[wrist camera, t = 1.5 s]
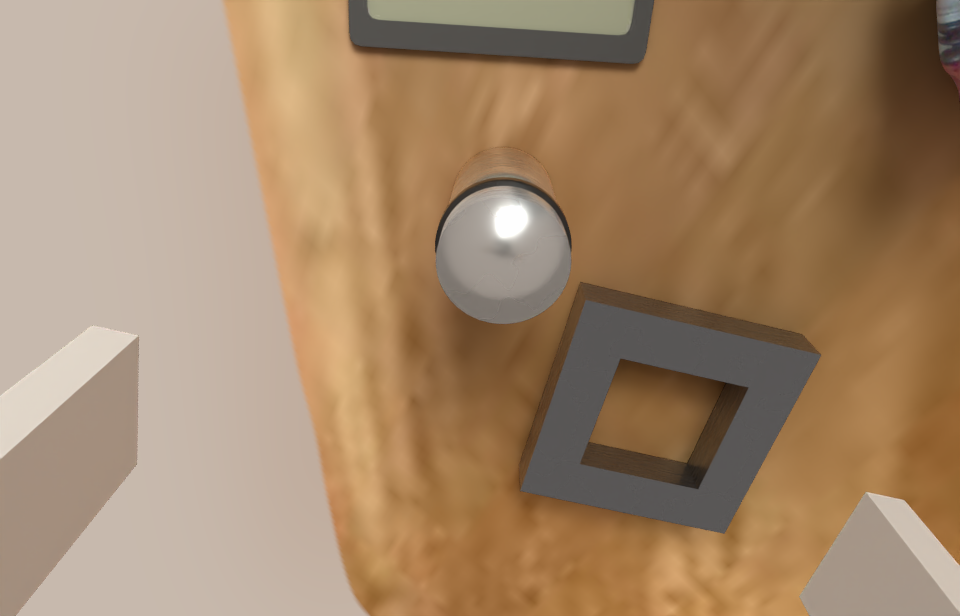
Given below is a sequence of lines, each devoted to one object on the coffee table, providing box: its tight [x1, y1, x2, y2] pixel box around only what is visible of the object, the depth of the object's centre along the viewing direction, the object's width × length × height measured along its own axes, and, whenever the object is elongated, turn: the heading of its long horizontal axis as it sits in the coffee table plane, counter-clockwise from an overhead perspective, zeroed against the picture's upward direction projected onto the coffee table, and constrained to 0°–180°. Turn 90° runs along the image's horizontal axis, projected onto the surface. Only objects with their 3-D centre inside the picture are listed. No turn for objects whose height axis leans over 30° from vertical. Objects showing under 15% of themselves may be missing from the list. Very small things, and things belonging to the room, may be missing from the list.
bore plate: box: [519, 282, 821, 533], centre depth 31 cm, size 11×11×2 cm
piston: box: [435, 147, 572, 324], centre depth 24 cm, size 5×5×8 cm
